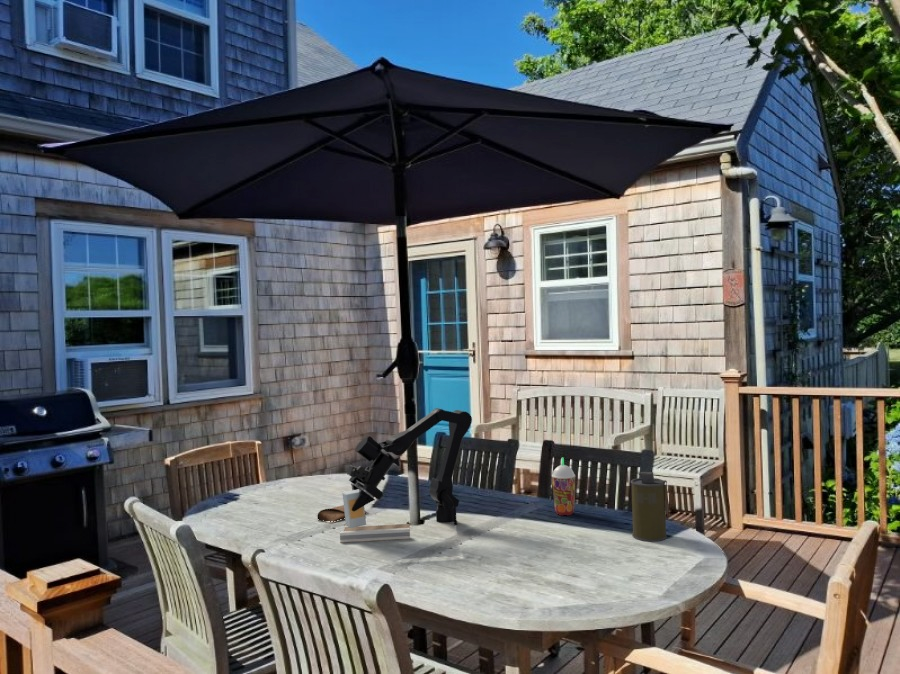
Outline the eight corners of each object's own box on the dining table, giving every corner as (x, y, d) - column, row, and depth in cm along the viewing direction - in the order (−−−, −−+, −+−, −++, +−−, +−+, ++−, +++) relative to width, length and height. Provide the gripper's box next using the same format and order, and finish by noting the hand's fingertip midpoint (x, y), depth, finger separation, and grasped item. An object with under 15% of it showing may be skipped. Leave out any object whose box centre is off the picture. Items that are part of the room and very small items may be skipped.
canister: (630, 540, 224) (628, 475, 224) (634, 530, 234) (632, 468, 233) (666, 542, 220) (664, 477, 220) (669, 533, 230) (667, 470, 229)
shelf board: (409, 526, 248) (409, 523, 248) (410, 542, 230) (409, 539, 230) (345, 530, 247) (344, 527, 247) (340, 546, 229) (340, 543, 229)
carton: (361, 521, 241) (358, 488, 240) (366, 524, 236) (362, 491, 236) (346, 525, 238) (342, 492, 238) (350, 528, 234) (346, 494, 234)
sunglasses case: (331, 523, 256) (324, 506, 258) (321, 531, 260) (315, 513, 262) (370, 513, 268) (364, 496, 271) (360, 520, 273) (354, 503, 275)
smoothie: (550, 515, 255) (548, 459, 255) (556, 509, 263) (554, 454, 263) (573, 517, 252) (571, 460, 252) (578, 511, 260) (576, 455, 260)
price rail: (409, 537, 233) (409, 527, 232) (409, 538, 231) (409, 529, 231) (340, 540, 231) (340, 531, 231) (340, 542, 230) (339, 533, 229)
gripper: (351, 451, 247) (323, 490, 242) (369, 459, 230) (339, 501, 225) (376, 470, 250) (348, 508, 246) (395, 479, 233) (366, 520, 229)
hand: (350, 509), depth 237 cm, fingers closed on carton, 5 cm apart
